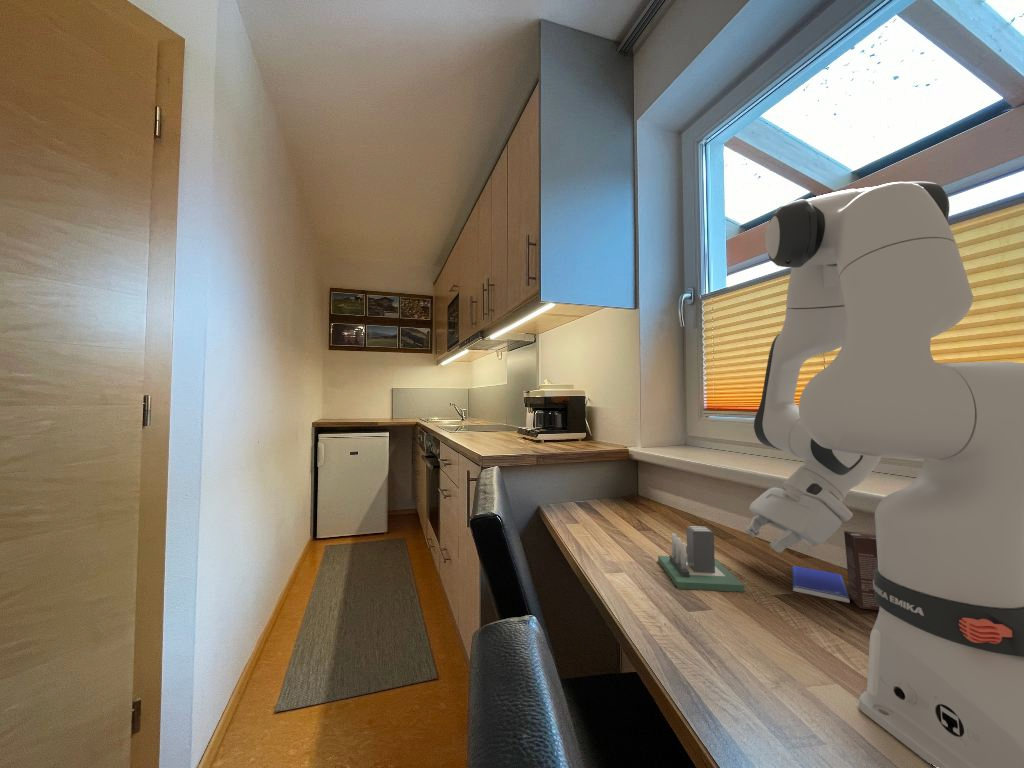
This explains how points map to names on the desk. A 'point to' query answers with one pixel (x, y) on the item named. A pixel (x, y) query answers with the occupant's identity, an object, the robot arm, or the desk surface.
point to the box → (861, 567)
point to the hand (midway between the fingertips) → (760, 541)
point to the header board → (696, 580)
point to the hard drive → (819, 583)
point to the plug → (700, 549)
